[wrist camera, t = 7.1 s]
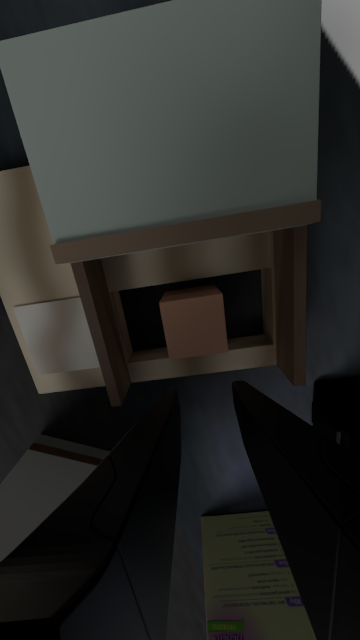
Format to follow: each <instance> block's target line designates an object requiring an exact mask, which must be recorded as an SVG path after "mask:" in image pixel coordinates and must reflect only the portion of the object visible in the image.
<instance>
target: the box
mask: <svg viewBox="0 0 360 640" xmlns="http://www.w3.org/2000/svg"><path fill="white" fill-rule="evenodd" d="M201 533H202V550H203V568H204V586H205V605H206V623H207V640H317V639H316V637H315V634H314V631H313V629H312V626H311V623H310V621H309V618H308V615H307V613H306V610H305V607H304V605H303V602H302V599H301V597H300V594H299V591H298V589H297V586H296V583H295V581H294V578H293V575H292V573H291V570H290V567H289V565H288V562H287V559H286V557H285V554H284V551H283V549H282V546H281V543H280V541H279V538H278V535H277V533H276V530H275V527H274V525H273V522H272V519H271V517H270V514H269V511H262V512H252V513H240V514H229V515H218V516H201Z"/></svg>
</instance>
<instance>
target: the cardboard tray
mask: <svg viewBox="0 0 360 640" xmlns="http://www.w3.org/2000/svg"><path fill="white" fill-rule="evenodd" d="M50 245H53V241H52V238H51V234H50V231H49V228H48V224H47V221H46V218H45V214H44V211H43V208H42V204H41V201H40V198H39V194H38V191H37V188H36V184H35V181H34V178H33V174H32V171H31V168H30V165H29V166H24V167H19V168H14V169H9V170H4V171H0V296H1V299H2V301H3V304H4V306H5V309H6V311H7V314H8V316H9V319H10V321H11V324H12V327H13V329H14V332H15V334H16V337H17V339H18V342H19V344H20V347H21V350H22V352H23V355H24V357H25V360H26V362H27V365H28V367H29V370H30V373H31V375H32V378H33V380H34V383H35V385H36V388H37V390H38V393H39V394H43V393H51V392H59V391H68V390H76V389H84V388H92V387H100V386H106V389H107V393H108V396H109V400H110V403H111V407H116V406H122V403H123V401H124V399H125V396H126V394H127V392H128V389H129V387H130V384H131V383H133V382H141V381H150V380H158V379H166V378H174V377H182V376H191V375H199V374H207V373H215V372H223V371H232V370H240V369H248V368H256V367H264V366H273V365H277V366H278V367H279V368H280V370H281V371H282V372H283V373H284V374H285V376H286V377H287V378H288V379H289V381H290V382H291V383H292V384H293V385H294V386H298V385H305V353H306V282H307V225H303V226H298V227H292V228H286V229H280V230H274V231H267V232H261V233H255V234H249V235H243V236H236V237H230V238H224V239H218V240H212V241H205V242H199V243H193V244H187V245H181V246H174V247H168V248H162V249H156V250H150V251H143V252H137V253H131V254H125V255H119V256H112V257H106V258H100V259H94V260H88V261H82V262H75V263H66V264H55V261H54V258H53V255H52V252H51V248H50ZM259 269H261V285H262V307H263V330H264V334H262V335H255V336H247V337H239V338H232V339H227V344H228V352H227V353H219V354H211V355H204V356H196V357H188V358H180V359H172V360H169V355H168V349H167V347H163V348H156V349H148V350H140V351H133V350H132V346H131V341H130V337H129V333H128V329H127V324H126V320H125V316H124V311H123V307H122V303H121V299H120V294H119V291H120V290H127V289H133V288H140V287H146V286H153V285H160V284H166V283H173V282H180V281H186V280H193V279H200V278H206V277H213V276H219V275H226V274H233V273H239V272H246V271H253V270H259Z"/></svg>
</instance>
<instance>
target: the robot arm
mask: <svg viewBox="0 0 360 640" xmlns="http://www.w3.org/2000/svg"><path fill="white" fill-rule="evenodd" d="M320 385H321V386H320ZM319 386H320V387H319ZM232 391H233V402H234V407H235V411H236V415H237V419H238V423H239V427H240V431H241V435H242V439H243V443H244V446H245V449H246V452H247V455H248V458H249V461H250V463H251V466H252V469H253V471H254V474H255V477H256V479H257V482H258V485H259V487H260V490H261V493H262V495H263V498H264V501H265V503H266V506H267V509H268V511H269V514H270V517H271V519H272V522H273V525H274V527H275V530H276V533H277V535H278V538H279V541H280V543H281V546H282V549H283V551H284V554H285V557H286V559H287V562H288V565H289V567H290V570H291V573H292V575H293V578H294V581H295V583H296V586H297V589H298V591H299V594H300V597H301V599H302V602H303V605H304V607H305V610H306V613H307V615H308V618H309V621H310V623H311V626H312V629H313V631H314V634H315V637H316V639H317V640H360V376H354V377H346V378H337V379H328V380H320V381H317V382H315V383H314V397H313V402H312V423H313V426H311V425H310V424H308V423H307V422H305V421H304V420H302V419H301V418H299V417H298V416H296V415H295V414H293V413H292V412H290V411H289V410H287V409H285V408H284V407H282V406H281V405H279V404H278V403H276V402H275V401H273V400H272V399H270V398H269V397H267V396H266V395H264V394H263V393H261V392H260V391H258V390H257V389H255V388H254V387H252V386H251V385H249V384H248V383H246V382H245V381H243V380H241V381H234V382H232ZM180 465H181V418H180V405H179V400H178V394H177V390H176V389H175V388H171V389H165V390H164V391H163V393H162V394H161V395H160V396H159V397H158V398H157V399H156V400H155V402H154V403H153V404H152V405H151V406H150V407H149V408H148V410H147V411H146V412H145V413H144V414H143V415H142V416H141V418H140V419H139V420H138V421H137V422H136V423H135V424H134V425H133V427H132V428H131V429H130V430H129V431H128V432H127V433H126V435H125V436H124V437H123V438H122V439H121V440H120V441H119V442H118V444H117V445H116V446H115V447H114V448H113V449H112V450H111V452H110V453H109V455H107V456H106V457H105V458H104V459H103V461H102V462H101V463H100V464H99V465H98V466H97V467H96V468H95V469H94V470H93V472H92V473H91V474H90V475H89V476H88V477H87V478H86V479H85V480H84V481H83V482H82V483H81V484H80V485H79V486H78V487H77V488H76V489H75V490H74V491H73V492H72V493H71V494H70V495H69V496H68V497H67V498H66V499H65V500H64V501H63V502H62V503H61V504H60V505H59V506H58V507H57V508H56V509H55V510H54V511H53V512H52V513H51V514H50V515H49V516H48V517H47V518H46V519H45V520H44V521H43V522H42V523H41V524H40V525H39V526H38V527H37V528H36V529H35V530H34V531H33V532H31V533H30V534H29V535H28V536H27V537H26V538H25V539H24V540H23V541H22V542H21V543H20V544H19V545H18V546H17V547H16V548H15V549H14V550H13V551H12V552H11V553H10V554H9V555H7V556H6V557H5V558H4V559H3V560H2V561H0V640H165V638H166V627H167V615H168V604H169V592H170V581H171V569H172V557H173V546H174V534H175V523H176V511H177V500H178V488H179V476H180Z"/></svg>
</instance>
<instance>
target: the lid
mask: <svg viewBox="0 0 360 640" xmlns="http://www.w3.org/2000/svg"><path fill="white" fill-rule="evenodd" d="M320 39H321V0H172V1H168V2H164V3H159V4H155V5H151V6H147V7H142V8H138V9H134V10H130V11H125V12H121V13H117V14H113V15H109V16H104V17H100V18H96V19H92V20H87V21H83V22H79V23H75V24H70V25H66V26H62V27H58V28H53V29H49V30H45V31H41V32H37V33H32V34H28V35H24V36H20V37H15V38H11V39H7V40H3V41H0V68H1V71H2V75H3V78H4V81H5V85H6V88H7V91H8V95H9V98H10V101H11V105H12V108H13V111H14V115H15V118H16V121H17V125H18V128H19V131H20V135H21V138H22V141H23V145H24V148H25V151H26V154H27V158H28V161H29V164H30V168H31V171H32V174H33V178H34V181H35V184H36V188H37V191H38V194H39V198H40V201H41V204H42V208H43V211H44V214H45V218H46V221H47V224H48V228H49V231H50V234H51V238H52V241H53V245H50V248H51V252H52V255H53V258H54V261H55V264H66V263H75V262H82V261H88V260H94V259H100V258H106V257H112V256H119V255H125V254H131V253H137V252H143V251H150V250H156V249H162V248H168V247H174V246H181V245H187V244H193V243H199V242H205V241H212V240H218V239H224V238H230V237H236V236H243V235H249V234H255V233H261V232H267V231H274V230H280V229H286V228H292V227H298V226H303V225H308V224H312V223H316V222H320V221H321V200H317V161H318V120H319V80H320Z"/></svg>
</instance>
